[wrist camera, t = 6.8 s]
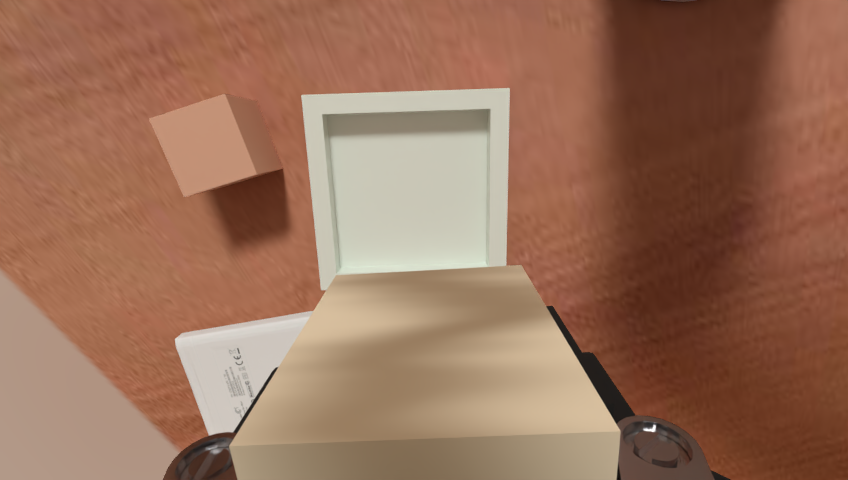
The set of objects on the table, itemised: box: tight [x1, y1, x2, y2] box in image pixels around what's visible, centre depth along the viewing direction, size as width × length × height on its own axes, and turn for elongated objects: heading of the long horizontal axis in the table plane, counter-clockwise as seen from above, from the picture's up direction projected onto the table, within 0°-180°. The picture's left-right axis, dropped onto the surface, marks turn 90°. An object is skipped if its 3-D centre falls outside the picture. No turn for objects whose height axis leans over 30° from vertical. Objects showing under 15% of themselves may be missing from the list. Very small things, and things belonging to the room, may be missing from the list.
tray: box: [301, 88, 510, 290], centre depth 24 cm, size 11×11×2 cm
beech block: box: [229, 265, 621, 480], centre depth 9 cm, size 5×5×6 cm
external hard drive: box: [175, 311, 313, 436], centre depth 27 cm, size 2×8×12 cm
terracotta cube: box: [149, 94, 283, 197], centre depth 22 cm, size 4×4×4 cm
